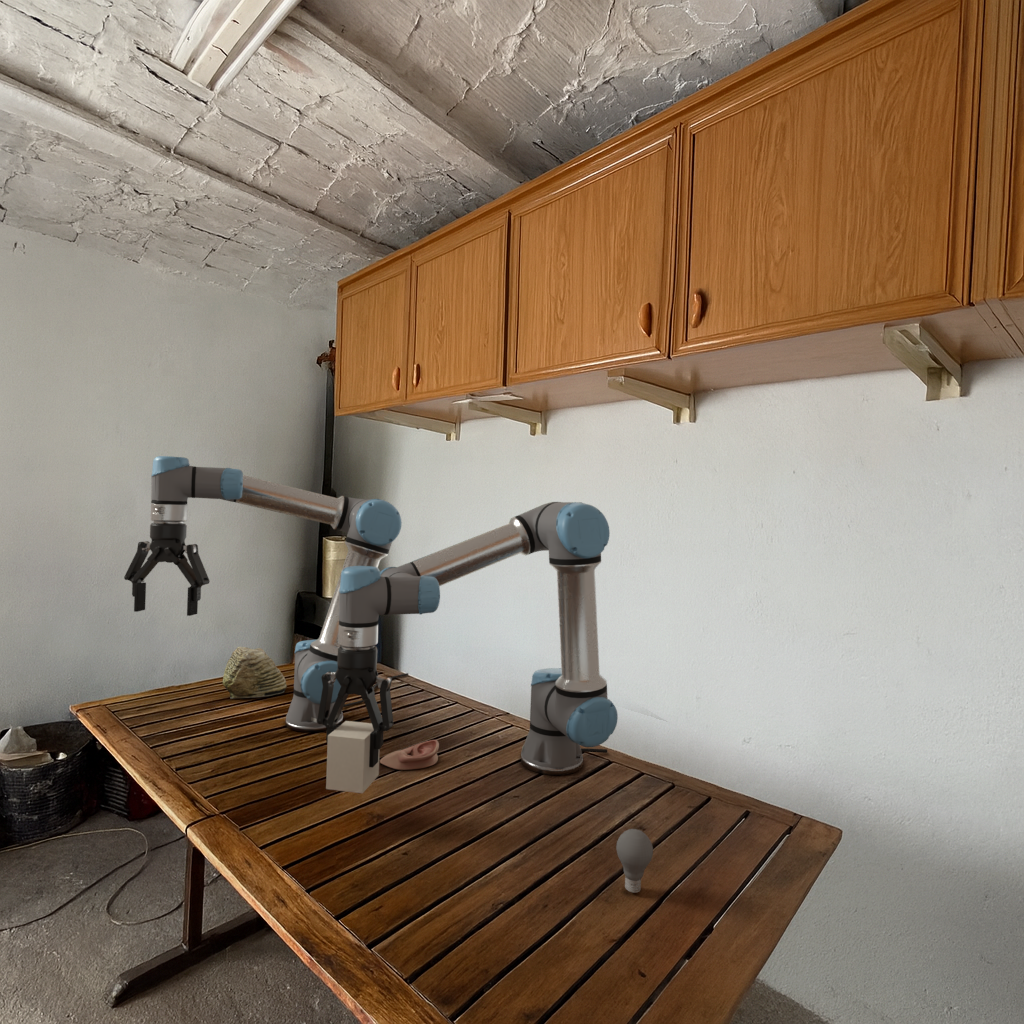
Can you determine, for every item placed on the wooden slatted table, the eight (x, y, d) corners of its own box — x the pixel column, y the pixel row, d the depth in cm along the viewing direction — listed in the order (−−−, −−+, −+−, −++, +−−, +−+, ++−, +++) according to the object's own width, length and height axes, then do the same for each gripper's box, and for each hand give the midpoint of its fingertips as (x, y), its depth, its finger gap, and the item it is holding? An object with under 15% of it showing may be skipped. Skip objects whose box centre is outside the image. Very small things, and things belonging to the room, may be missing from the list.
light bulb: (610, 879, 108) (613, 822, 108) (644, 879, 109) (647, 822, 109) (619, 902, 102) (622, 840, 102) (655, 901, 103) (658, 840, 103)
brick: (344, 771, 129) (345, 720, 128) (378, 775, 127) (380, 724, 127) (325, 789, 120) (327, 735, 120) (362, 793, 119) (364, 739, 119)
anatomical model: (374, 749, 149) (393, 732, 160) (374, 766, 149) (393, 748, 161) (428, 756, 147) (443, 739, 158) (427, 774, 147) (443, 754, 158)
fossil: (218, 695, 195) (220, 647, 195) (278, 685, 208) (279, 640, 207) (228, 703, 189) (230, 653, 188) (289, 692, 201) (290, 645, 201)
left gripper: (108, 520, 146) (105, 611, 147) (207, 525, 143) (204, 619, 143) (132, 519, 154) (129, 606, 154) (227, 524, 150) (224, 613, 151)
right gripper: (299, 646, 121) (296, 764, 122) (401, 654, 118) (396, 776, 118) (318, 638, 129) (314, 749, 129) (413, 645, 125) (409, 760, 126)
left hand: (165, 612), depth 149 cm, fingers open, 13 cm apart
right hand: (353, 762), depth 124 cm, fingers closed on brick, 7 cm apart
